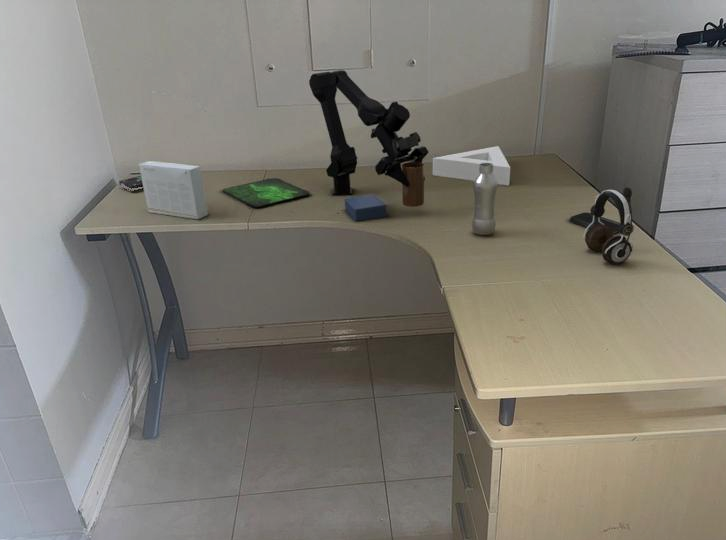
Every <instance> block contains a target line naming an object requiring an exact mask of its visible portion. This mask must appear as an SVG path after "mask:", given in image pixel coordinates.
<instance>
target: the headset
mask: <svg viewBox="0 0 726 540" xmlns="http://www.w3.org/2000/svg"><path fill="white" fill-rule="evenodd" d="M632 196H633V191H632V188H630V187H629V186H627V187H624V189H623V191H622V192H620V191H617V190H615V189H605V190H603V191H601V192H600V194H598V195H596V196H595V202H594V204H593V205H592V206H591V207H590V213H591V214H592V215H593V222H592V223H591V224H590V225H589V226H588V227H585V230H584V232H583V238H584V242H585V244H586V245H587V248H588V249H589V250H590V251H592V252H601V254H602V258H603V260H604V261H605V262H606V263H608V264H613V265H619V264H622V263H625V261H627V260H628V258H630V256H631V253H632V252H633V249H634V247H635V246H634V243H633V242H632V241H631V240H630V237H631V234H632V233H634V228H635V227H634V224H633V209H632V205H631V202H632V201H631V197H632ZM609 199H611V200H612V201H613V203H614V204H615V206H616V209H617V212H618V214H619V221H620V222H619V223H620V225H619V227H618V231H619V232H618V233H620V234H621V235H614V234H613V232H612V230H611V228H610V227H609V226H607V225H605V224H603V223H602V222H600V217H603V216H604V215H605V211H606V209H605V206H606V204H607V202H608V200H609ZM595 217H598V221H599V223H601V224H596V225H594V226H592V227H591V228H589V227H590V226H591V225H592V224H593V223H594V218H595Z"/></svg>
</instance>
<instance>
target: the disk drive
mask: <svg viewBox="0 0 726 540" xmlns="http://www.w3.org/2000/svg"><path fill="white" fill-rule="evenodd" d="M118 182H119V185H120V184H123V185H125V186H127V187H129V188H131V189H132V188H138V187H143V182H142V177H141V175H139V176H135V177H131V178H126V179H121V180H119V181H118ZM128 190H129V189H128ZM130 191H131V190H130ZM130 191H129V192H130ZM139 192H144V188H142V189H138V190H134V191H131V192H130V193H139Z"/></svg>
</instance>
